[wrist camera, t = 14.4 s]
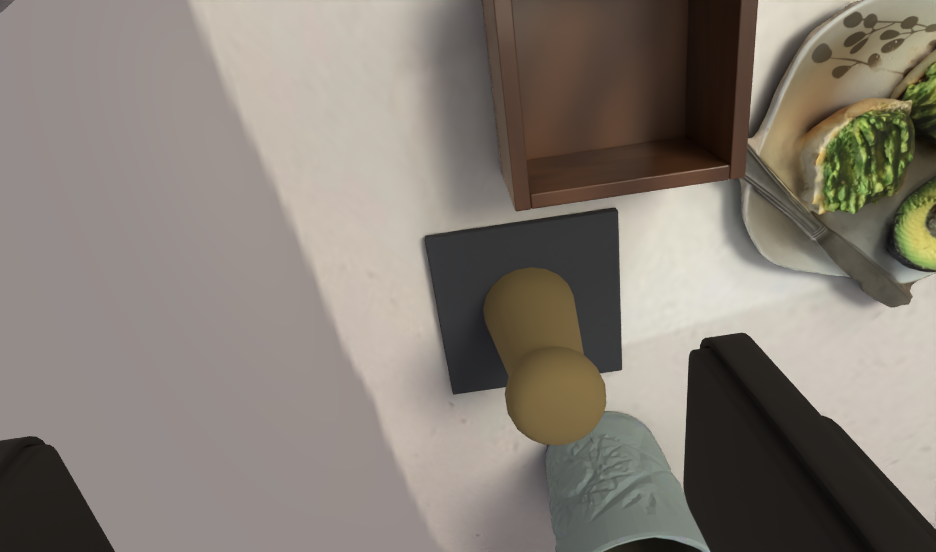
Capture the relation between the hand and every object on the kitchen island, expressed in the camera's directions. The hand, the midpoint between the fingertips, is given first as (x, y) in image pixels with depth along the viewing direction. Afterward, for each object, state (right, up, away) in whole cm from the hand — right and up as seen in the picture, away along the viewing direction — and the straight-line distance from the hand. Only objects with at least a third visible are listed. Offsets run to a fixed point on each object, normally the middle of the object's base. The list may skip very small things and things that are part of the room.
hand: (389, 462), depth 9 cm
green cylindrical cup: (+11, -11, +37) cm, 41 cm away
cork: (+5, +1, +31) cm, 31 cm away
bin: (+8, +15, +24) cm, 30 cm away
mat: (+5, +1, +31) cm, 32 cm away
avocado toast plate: (+27, +10, +28) cm, 40 cm away
